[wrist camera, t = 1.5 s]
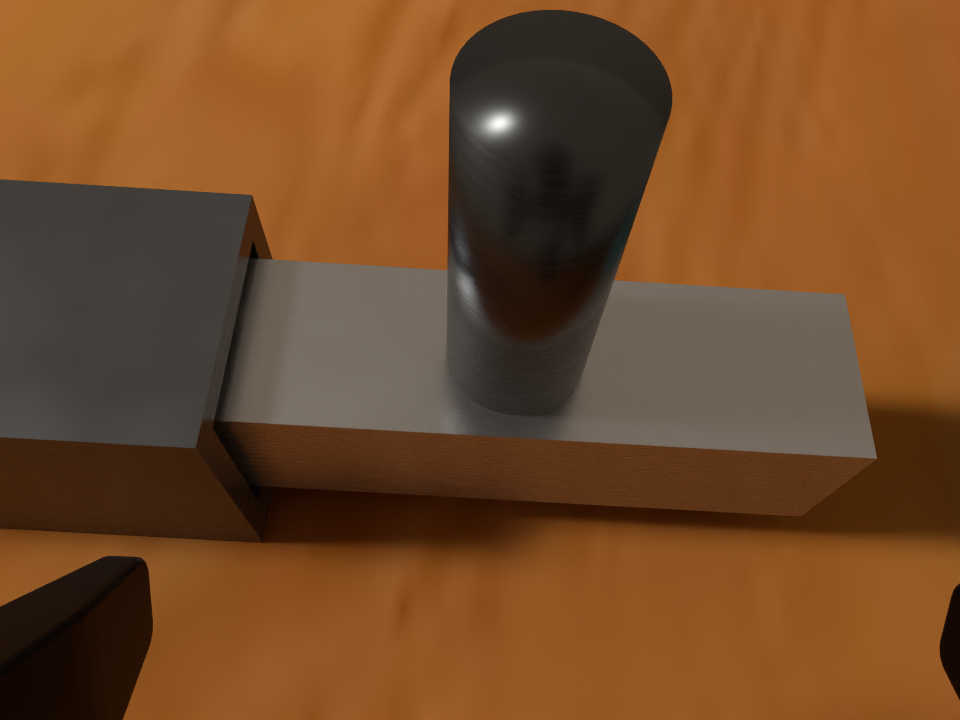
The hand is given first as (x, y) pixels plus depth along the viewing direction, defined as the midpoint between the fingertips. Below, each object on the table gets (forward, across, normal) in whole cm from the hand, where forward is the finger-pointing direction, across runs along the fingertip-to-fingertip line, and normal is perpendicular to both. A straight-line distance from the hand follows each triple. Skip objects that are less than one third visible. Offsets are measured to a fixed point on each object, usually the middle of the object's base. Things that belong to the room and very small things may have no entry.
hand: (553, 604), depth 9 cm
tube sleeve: (+13, +13, +3) cm, 19 cm away
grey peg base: (+12, +5, +3) cm, 13 cm away
